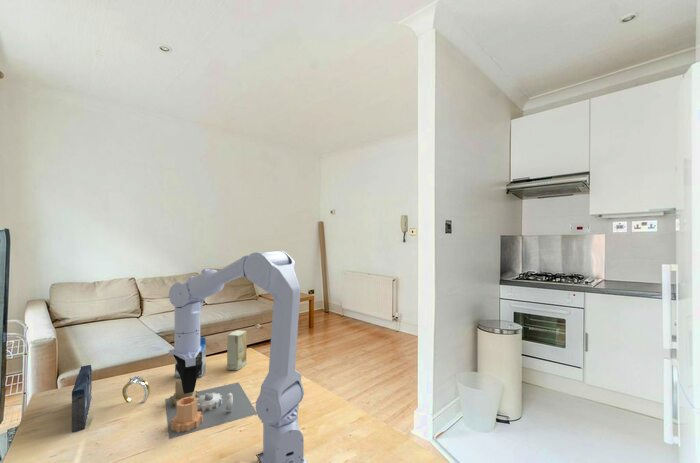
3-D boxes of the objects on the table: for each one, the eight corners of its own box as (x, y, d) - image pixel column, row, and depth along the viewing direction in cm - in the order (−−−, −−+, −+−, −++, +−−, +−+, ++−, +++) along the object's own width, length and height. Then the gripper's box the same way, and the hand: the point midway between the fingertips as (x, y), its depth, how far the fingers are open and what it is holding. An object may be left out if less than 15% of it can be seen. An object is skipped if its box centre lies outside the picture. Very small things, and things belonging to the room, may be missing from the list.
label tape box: (174, 378, 108) (174, 340, 108) (179, 373, 112) (179, 337, 112) (201, 377, 109) (201, 340, 109) (206, 372, 113) (206, 336, 113)
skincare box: (237, 371, 114) (237, 335, 114) (226, 370, 115) (226, 335, 115) (247, 363, 120) (247, 330, 120) (236, 362, 121) (236, 329, 121)
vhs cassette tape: (80, 400, 94) (80, 365, 94) (93, 398, 95) (94, 363, 95) (68, 434, 78) (69, 392, 78) (84, 430, 80) (84, 389, 80)
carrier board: (257, 418, 85) (257, 391, 85) (169, 444, 74) (169, 413, 74) (238, 386, 103) (238, 363, 103) (165, 403, 92) (165, 378, 92)
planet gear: (204, 426, 79) (204, 403, 79) (171, 435, 76) (172, 411, 76) (200, 413, 85) (200, 391, 85) (170, 420, 81) (170, 398, 82)
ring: (119, 408, 90) (120, 378, 90) (129, 402, 93) (129, 373, 93) (142, 410, 89) (143, 380, 89) (151, 403, 92) (151, 375, 92)
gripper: (167, 325, 85) (167, 378, 84) (170, 341, 72) (170, 403, 72) (197, 321, 88) (197, 372, 88) (205, 336, 76) (205, 395, 76)
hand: (187, 385), depth 80 cm, fingers open, 7 cm apart
